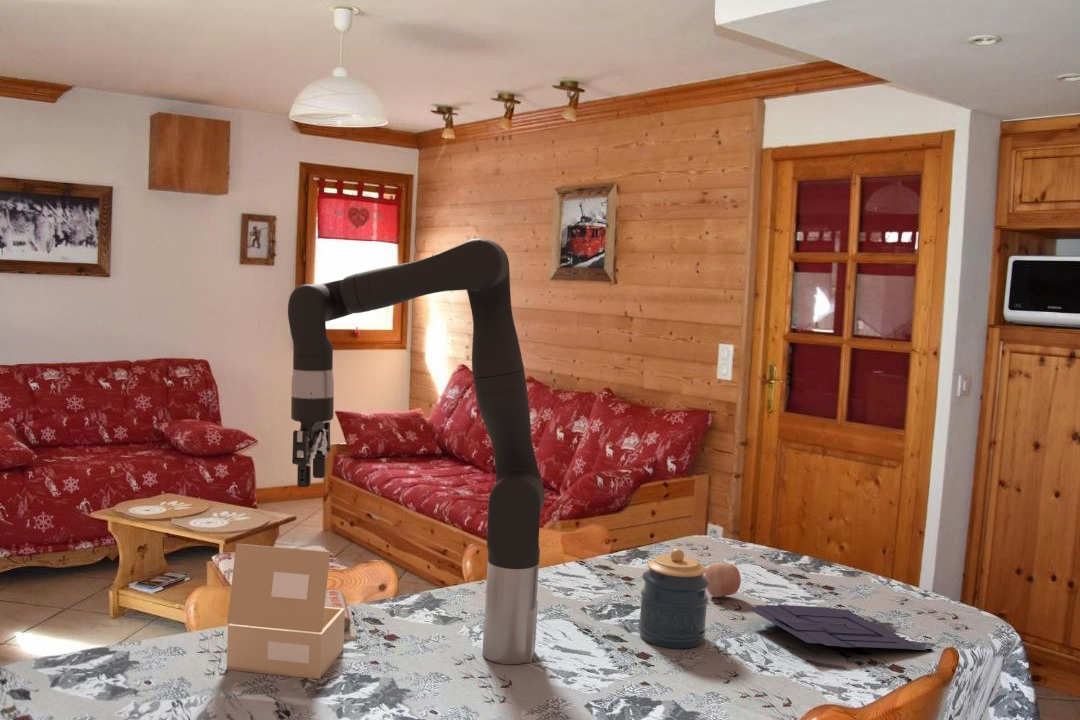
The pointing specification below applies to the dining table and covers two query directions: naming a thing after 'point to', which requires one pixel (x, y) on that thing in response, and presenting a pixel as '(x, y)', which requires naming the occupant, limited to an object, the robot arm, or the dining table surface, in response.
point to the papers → (831, 627)
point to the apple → (722, 579)
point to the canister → (674, 601)
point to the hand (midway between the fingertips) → (311, 482)
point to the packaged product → (338, 601)
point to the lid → (278, 587)
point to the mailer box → (287, 647)
